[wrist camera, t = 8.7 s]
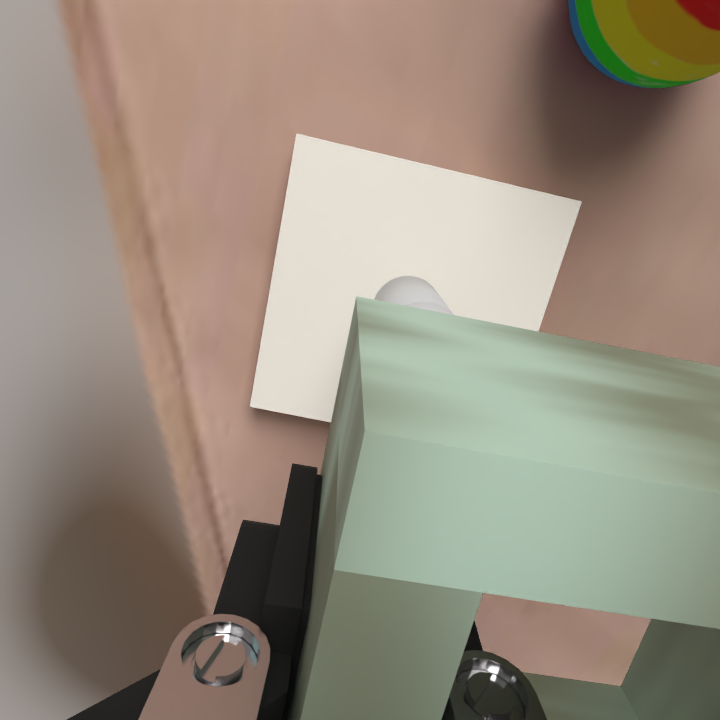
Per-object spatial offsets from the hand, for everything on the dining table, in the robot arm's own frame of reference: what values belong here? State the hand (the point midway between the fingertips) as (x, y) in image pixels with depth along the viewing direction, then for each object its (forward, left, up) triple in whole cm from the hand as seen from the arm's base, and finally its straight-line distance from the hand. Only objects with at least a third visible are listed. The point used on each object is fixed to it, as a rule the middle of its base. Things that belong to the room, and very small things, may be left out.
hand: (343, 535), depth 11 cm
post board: (-3, -1, -19) cm, 19 cm away
